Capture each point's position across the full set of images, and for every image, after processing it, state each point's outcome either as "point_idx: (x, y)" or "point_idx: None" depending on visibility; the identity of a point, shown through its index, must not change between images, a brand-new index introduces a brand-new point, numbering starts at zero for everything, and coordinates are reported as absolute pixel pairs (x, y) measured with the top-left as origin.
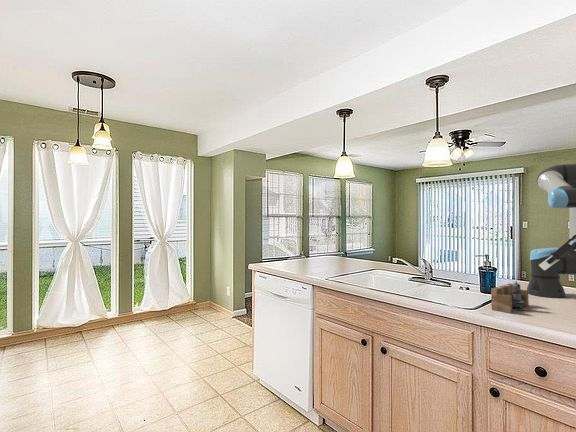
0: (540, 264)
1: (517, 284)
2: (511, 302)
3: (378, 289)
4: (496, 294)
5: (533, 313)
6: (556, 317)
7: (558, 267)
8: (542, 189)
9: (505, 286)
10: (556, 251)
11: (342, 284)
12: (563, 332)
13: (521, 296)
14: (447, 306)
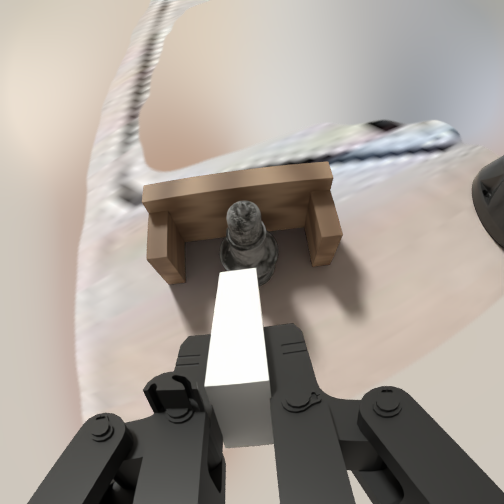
0: (220, 285)
1: (234, 221)
2: (169, 268)
3: (158, 40)
4: (149, 214)
5: None
6: None
7: None
8: None
9: (238, 184)
10: (52, 483)
11: (148, 17)
12: None
13: (313, 233)
14: (112, 160)
